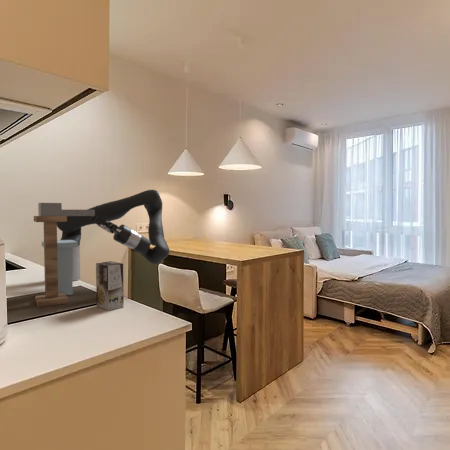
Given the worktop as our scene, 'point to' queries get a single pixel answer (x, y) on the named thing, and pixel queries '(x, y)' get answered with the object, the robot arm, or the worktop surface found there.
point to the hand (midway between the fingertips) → (93, 218)
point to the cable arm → (56, 210)
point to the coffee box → (109, 285)
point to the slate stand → (65, 265)
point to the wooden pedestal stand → (50, 262)
